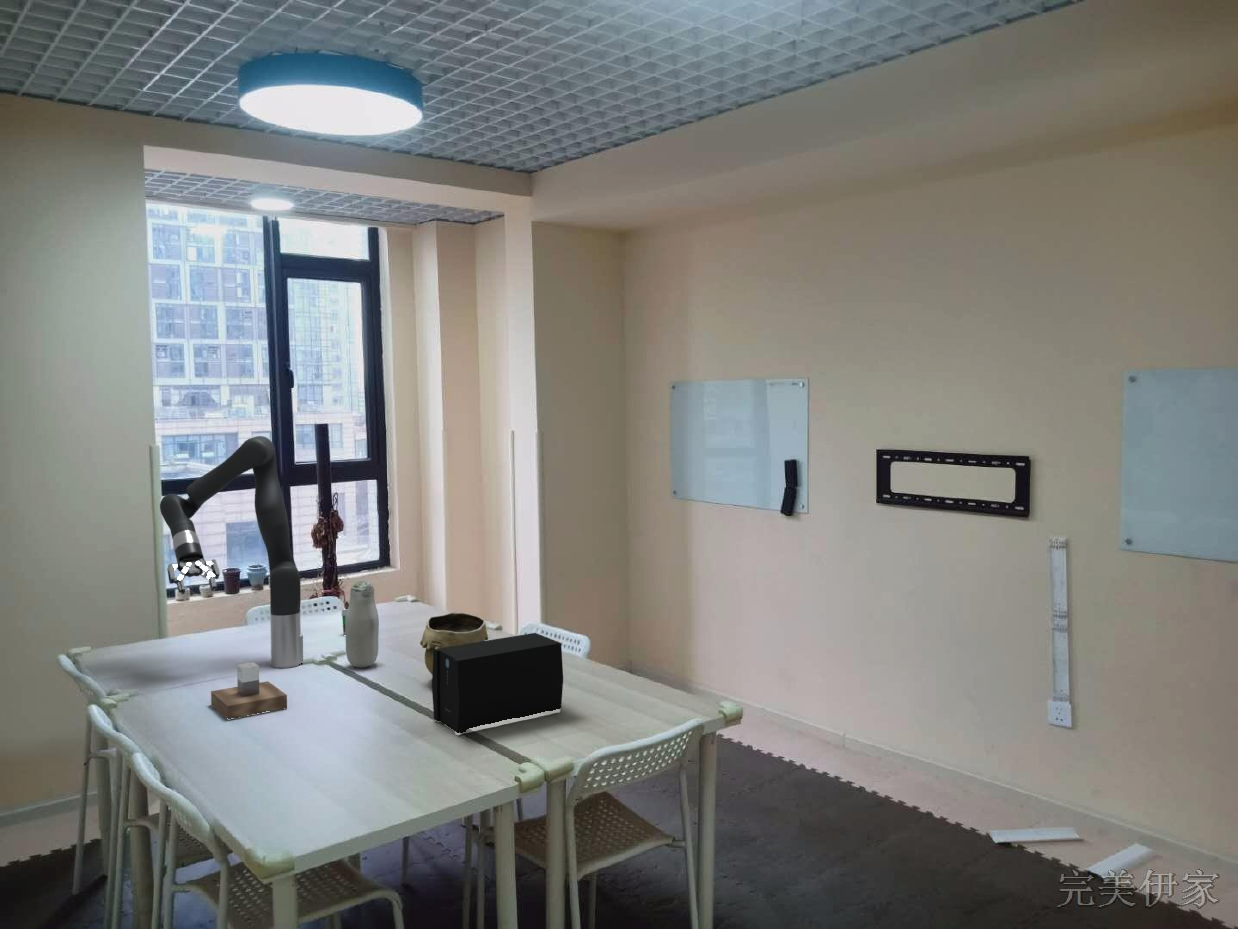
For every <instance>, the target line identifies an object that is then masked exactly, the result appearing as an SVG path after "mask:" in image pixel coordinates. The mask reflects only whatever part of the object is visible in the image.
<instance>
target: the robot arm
mask: <svg viewBox="0 0 1238 929" xmlns="http://www.w3.org/2000/svg"><path fill="white" fill-rule="evenodd" d="M276 456H277V454H276V448H275V445H274V443H273V442H272V441H271V439H269V438H268V437H266V436H262V435H258V436H254V437H250V438H248V439H246V440H245V441H244V442H243V443H242V444H241V445H240V446H239V447H238V448H237V449H236V450H235V451H234V452H233V453H232V454H231V455H230V456H229V457H228V458H227V459H225V460H224V461H223V462H222V463H220V464H219V465H217V466H216V467H214V468H212V469H211V470H210V471H208V472H207V473H205V474H204V475H202V476H200V477H199V478H197V479H196V480H195V481H194V482H192V483H191V484H189V485H188V486H187V488H186V494H187V498H183V497H182V496H180V495H178V494H176V493H168V494H166V495H164V496H163V497H162V499H161V500H160V504H159V510H160V514H161V516H162V518H163V520H164V522H165V523H166V525H167V527H168V528H169V530H170V535H171V538H172V545H173V552H174V555H175V559H176V562H177V564H173V563H172V562H169V563H168V566H167V569H166V570H167V575H168V576H167V577H168V583H169V584H171V585H172V584H173V585H174V584H176V587H177V590H178V593H180V594H181V595H184V594H185V592H186V588H185V585H184V580H185V579H186V577H188V578H192V577H200V576H201V577H202V578H204V579H206V580H208V584H209V588H210V590H211V592H214V591H215V589H216V588H217V582H216V580H219V579H220V575H221V571H220V569H219V566H218V562H217V560H216V559H214V558H213V559H211V561H206V560H205V557H204V554H203V551H202V547H201V546H202V545H201V542H200V539H199V537H198V535H197V531H196V527H195V524H194V522H193V520H191V519H192V517H194V515H195V514H196V513H197V512H198V511H199V510H200V509H201V508H202V506H203V504H205V502H207V501H208V500H209V499H211V498H213V497H214V496H215V495H218V493H220V492H221V491H222V490H223V489H224V488H225V487H226V486H228V485H229V484H230V483H231V482H232V481H233V480H235V479H236V478H237V477H239V476H241V475H242V474H244V473H246V472H248V471H250V470H252V472H253V476H254V482H255V486H254V488H255V489H254V512H255V517H256V521H257V525H258V528H259V533H260V535H261V538H262V542H263V544H264V545H265V548H266V553H267V560H268V566H269V567H268V569H269V588H270V589H269V593H270V595H269V596H270V600H269V601H270V603H269V604H270V606H269V608H270V610H269V612H270V613H269V614H270V652H271V653H270V656H271V658H270V664H271V667H273V668H276V669H277V668H278V669H287V668H294V667H297V666H299V664H300V665H302V664H301V663H302V662H303V663H304V636H303V634H302V633H301V630H302V629H301V604H302V603H301V600H302V599H301V595H302V594H301V589H302V588H301V575H300V572H299V569H298V567H297V564H296V561H295V559H294V555H293V553H292V548H291V544H290V526H289V519H288V514H287V509H286V505H285V501H284V497H283V492H282V489H281V483H280V480H279V476H278V468H277V457H276ZM176 570H178V571H179V572H180V574H179V576H178V577H176V575H175V572H176ZM210 570H211V571H210Z"/></svg>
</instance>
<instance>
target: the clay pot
mask: <svg viewBox="0 0 1238 929" xmlns="http://www.w3.org/2000/svg"><path fill="white" fill-rule="evenodd" d="M487 640H489V634H488V630H487V625H486V621H485V619H483V618H482V617H480V616H477V615H474V614H472V613H471V614H470V613H467V612H449V613H446V614H442V615H433V616H430V617H429V618H428V619H427V621H426V625H425V628H424V631H423V634H422V638H421V640H420V642H419V644H420V646H421V648H423V649H425V651H424V663H425V667H426V669H427V670H428V672H429V673H430V674H431V675H432V673H433V652H434V649H438V648H444V647H450V646H456V645H463V644H469V643H475V642H481V641H487Z"/></svg>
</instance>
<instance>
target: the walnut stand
mask: <svg viewBox="0 0 1238 929" xmlns="http://www.w3.org/2000/svg"><path fill="white" fill-rule="evenodd" d="M210 697H211V698H210V702H211V703H210V704H211V706H212V705H213V706H214V707H215V708H216V709H215V708H214V707H213V706H212V707H213V708H214V709H215V710H216V711H217V712H218V711H219V712H220V713H219V712H218V713H219V714H220V715H222V716H223V718H225V719H226V718H228V719H231V718H238V719H240V718H239V717H243V718H245V717H244V716H247V715H252V714H257V713H262V712H266V711H273V712H276V711H275V710H279V711H281V710H280V709H284V708H287V709H288V695H287V694H286V693H285V692H284V691H283V690H281V689H279V688H278V687H277V686H275V685H274V684H273V683H271V682H270V681H268V680H267V681H263V682H259V694H255V695H249V696H244V697H242V696H241V695H240V694H239V693H238V686H233V687H228V688H227V687H226V688H222V689H216V690H211V691H210ZM284 710H285V709H284Z"/></svg>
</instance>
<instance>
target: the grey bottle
mask: <svg viewBox="0 0 1238 929" xmlns="http://www.w3.org/2000/svg"><path fill="white" fill-rule="evenodd" d="M349 596H350V597H349V603H348V608H347V609H346V610H347V613H346V619H345V633H346V636H345V654H346V658H347V660H348V662H349V664H350V665H351V666H353V667H356V668H359V667H363V668H368V667H367V666H369V667H370V665H371V666H372V665H374V664H375V663H376V661H377V658H378V655H379V636H380V635H379V633H380V631H379V630H380V628H379V627H380V618H379V612H378V609H377V604H376V599H375V587H374V586H373V584H372V583H371V582H368V581H362V580H361V581H357V582H354V583H353V584H352V585H351V588H350V593H349Z"/></svg>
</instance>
